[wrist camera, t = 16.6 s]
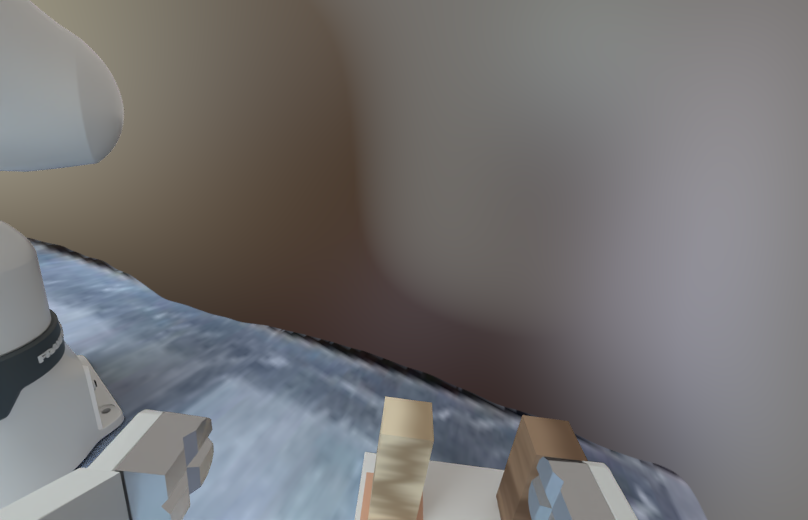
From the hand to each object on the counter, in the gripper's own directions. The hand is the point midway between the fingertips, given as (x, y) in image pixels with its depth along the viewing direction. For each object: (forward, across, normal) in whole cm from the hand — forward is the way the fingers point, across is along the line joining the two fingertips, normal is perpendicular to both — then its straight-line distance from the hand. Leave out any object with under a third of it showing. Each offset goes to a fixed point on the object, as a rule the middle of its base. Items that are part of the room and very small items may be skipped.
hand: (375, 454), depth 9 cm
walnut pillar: (+19, -16, +28) cm, 37 cm away
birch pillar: (+19, -3, +28) cm, 34 cm away
